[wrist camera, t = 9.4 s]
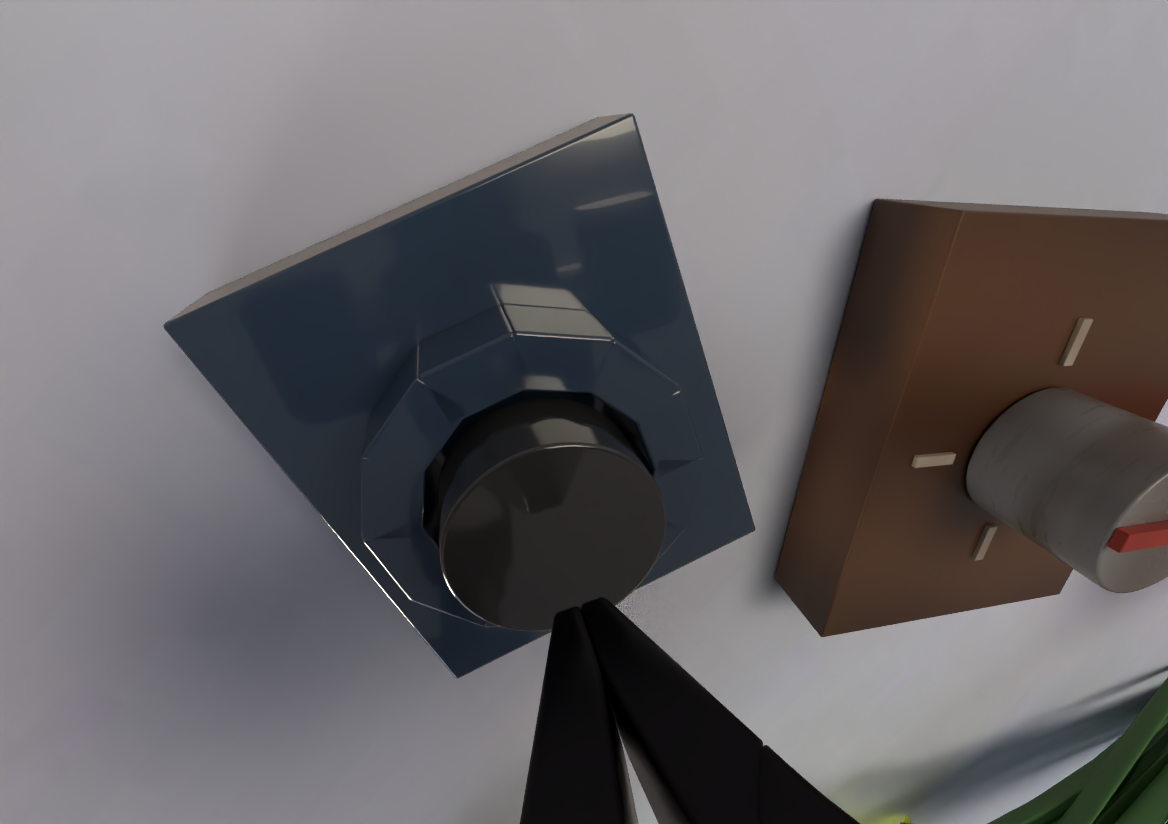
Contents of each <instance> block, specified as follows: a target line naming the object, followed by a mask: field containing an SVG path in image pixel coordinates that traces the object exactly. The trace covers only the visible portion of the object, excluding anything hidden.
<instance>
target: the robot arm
mask: <svg viewBox="0 0 1168 824" xmlns="http://www.w3.org/2000/svg"><path fill="white" fill-rule="evenodd" d="M617 727H618V728H617ZM618 730H619V732H618ZM619 733H620V735H619ZM620 736H621V739H622V742H623V745H624V747H625V749H626V752H627V754H628V757H629V759H630V761H631V763H632V766H633V768H634V770H635V772H636V775H637V777H638V779H639V781H640V783H641V786H642V788H643V790H644V792H645V794H646V797H647V799H648V801H649V803H650V805H651V808H652V810H653V812H654V814H655V817H656V819H657V821H658V823H659V824H860V823H859V822H857V821H856V820H855V819H853V818H852V817H851V816H850V815H848V814H847V813H846V812H845V811H843V810H842V809H841V808H839V807H838V806H837V805H836V804H834V803H833V802H832V801H830V800H829V799H828V798H827V797H825V796H824V795H823V794H822V793H821V792H819V791H818V790H817V789H816V788H815V787H814V786H812V785H811V784H810V783H809V782H808V781H807V780H806V779H804V778H803V777H802V776H801V775H800V774H799V773H797V772H796V771H795V770H794V769H793V768H792V767H790V766H789V765H788V764H787V763H786V762H785V761H784V760H783V759H782V758H781V757H780V756H778V755H777V754H776V753H775V752H774V751H773V750H772V749H771V748H770V747H769V746H767V745H764V746H763V742H762V740H761V739H759V738H758V737H757V736H756V735H755V734H754V733H753V732H752V731H751V730H750V729H749V728H747V727H746V726H745V725H744V724H743V723H742V722H741V721H740V720H739V719H738V718H737V717H735V716H734V715H733V714H732V713H731V712H730V711H729V710H728V709H727V708H726V707H725V706H723V705H722V704H721V703H720V702H719V701H718V700H717V699H716V698H715V697H714V696H713V695H711V694H710V693H709V692H708V691H707V690H706V689H705V688H704V687H703V686H702V685H701V684H699V683H698V682H697V681H696V680H695V679H694V678H693V677H692V676H691V675H690V674H689V673H687V672H686V671H685V670H684V669H683V668H682V667H681V666H680V665H679V664H678V663H677V662H675V661H674V660H673V659H672V658H671V657H670V656H669V655H668V654H667V653H666V652H665V651H663V650H662V649H661V648H660V647H659V646H658V645H657V644H656V643H655V642H654V641H652V640H651V639H650V638H649V637H648V636H647V635H646V634H645V633H644V632H643V631H642V630H640V629H639V628H638V627H637V626H636V625H635V624H634V623H633V622H632V621H631V620H630V619H628V618H627V617H626V616H625V615H624V614H623V613H622V612H621V611H620V610H619V609H618V608H616V607H615V606H614V605H613V604H612V603H611V602H610V601H609V600H608V599H606V598H604V597H600V598H597V599H594V600H591V601H588V602H585V603H583V604H582V605H581V609H580V607H578V606H574V607H571V608H568V609H565V610H563V611H560V612H557V613H556V614H555V617H554V621H553V627H552V633H551V639H550V645H549V651H548V657H547V663H546V669H545V675H544V681H543V687H542V693H541V699H540V705H539V711H538V717H537V723H536V729H535V735H534V741H533V747H532V753H531V759H530V766H529V772H528V778H527V784H526V790H525V796H524V802H523V808H522V814H521V820H520V824H638V819H637V814H636V809H635V804H634V799H633V794H632V789H631V784H630V779H629V774H628V769H627V764H626V759H625V755H624V750H623V746H622V742H621V739H620Z"/></svg>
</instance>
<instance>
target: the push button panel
mask: <svg viewBox="0 0 1168 824" xmlns="http://www.w3.org/2000/svg"><path fill="white" fill-rule="evenodd" d="M164 329H165V330H166V331H167V332H168V334H169V335H170V336H171V337H172V338H173V340H174V341H175V342H176V343H177V344H178V346H179V347H180V348H181V349H182V350H183V352H184V353H185V354H186V355H187V356H188V358H189V359H190V360H191V361H192V362H193V364H194V365H195V366H196V367H197V368H198V370H199V371H200V372H201V373H202V374H203V376H204V377H205V378H206V379H207V380H208V382H209V383H210V384H211V385H212V386H213V388H214V389H215V390H216V391H217V392H218V394H219V395H220V396H221V397H222V398H223V400H224V401H225V402H226V403H227V404H228V406H229V407H230V408H231V409H232V410H233V412H234V413H235V414H236V415H237V416H238V418H239V419H240V420H241V421H242V422H243V424H244V425H245V426H246V427H247V428H248V430H249V431H250V432H251V433H252V434H253V435H254V437H255V438H256V439H257V440H258V441H259V443H260V444H261V445H262V446H263V447H264V449H265V450H266V451H267V452H268V453H269V455H270V456H271V457H272V458H273V459H274V461H275V462H276V463H277V464H278V465H279V467H280V468H281V469H282V470H283V471H284V473H285V474H286V475H287V476H288V477H289V479H290V480H291V481H292V482H293V483H294V485H295V486H296V487H297V488H298V489H299V491H300V492H301V493H302V494H303V495H304V497H305V498H306V499H307V500H308V501H309V503H310V504H311V505H312V506H313V507H314V509H315V510H316V511H317V512H318V513H319V515H320V516H321V517H322V518H323V519H324V521H325V522H326V523H327V524H328V525H329V527H330V528H331V529H332V530H333V531H334V533H335V534H336V535H337V536H338V537H339V539H340V540H341V541H342V542H343V543H344V545H345V546H346V547H347V548H348V549H349V551H350V552H351V553H352V554H353V555H354V557H355V558H356V559H357V560H358V561H359V563H360V564H361V565H362V566H363V567H364V569H365V570H366V571H367V572H368V573H369V575H370V576H371V577H372V578H373V579H374V581H375V582H376V583H377V584H378V585H379V587H380V588H381V589H382V590H383V591H384V593H385V594H386V595H387V596H388V597H389V599H390V600H391V601H392V602H393V603H394V605H395V606H396V607H397V608H398V609H399V611H400V612H401V613H402V614H403V615H404V617H405V618H406V619H407V620H408V621H409V623H410V624H411V625H412V626H413V627H414V629H415V630H416V631H417V632H418V633H419V635H420V636H421V637H422V638H423V639H424V641H425V642H426V643H427V644H428V645H429V647H430V648H431V649H432V650H433V651H434V653H435V654H436V655H437V656H438V657H439V659H440V660H441V661H442V662H443V663H444V665H445V666H446V667H447V668H448V669H449V671H450V672H451V673H452V674H453V675H454V677H455V678H460V677H462V676H464V675H466V674H468V673H470V672H472V671H474V670H476V669H478V668H480V667H482V666H484V665H486V664H488V663H490V662H492V661H494V660H496V659H498V658H500V657H502V656H504V655H506V654H508V653H510V652H512V651H514V650H516V649H518V648H520V647H522V646H524V645H526V644H528V643H530V642H532V641H534V640H536V639H538V638H540V637H542V636H544V635H546V634H548V633H550V632H552V630H547V631H519V630H513V629H507V628H503V627H500V626H496V625H493V624H491V623H489V622H486V621H484V620H482V619H480V618H479V617H477V616H475V615H474V614H472V613H471V612H469V611H468V610H467V609H466V608H465V607H463V606H462V605H461V603H460V602H459V601H458V600H457V599H456V598H455V597H454V595H453V594H452V592H451V591H450V589H449V587H448V586H447V584H446V582H445V579H444V577H443V574H442V570H441V565H440V556H439V531H438V506H437V487H438V479H439V475H440V472H441V468H442V466H443V464H444V461H445V459H446V457H447V455H448V453H449V452H450V450H451V449H452V447H453V446H454V444H455V443H456V442H457V441H458V439H459V438H460V437H461V436H462V435H463V434H464V433H465V432H466V431H467V430H468V429H469V428H470V427H471V426H472V425H473V424H475V423H476V422H477V421H479V420H480V419H482V418H483V417H484V416H486V415H488V414H490V413H492V412H493V411H495V410H497V409H499V408H502V407H504V406H507V405H509V404H512V403H516V402H520V401H523V400H529V399H536V398H559V399H567V400H572V401H576V402H580V403H582V404H585V405H588V406H591V407H592V408H594V409H596V410H598V411H600V412H602V413H603V414H604V415H606V416H607V417H608V418H610V419H611V420H612V421H613V422H614V423H615V424H616V425H617V426H618V427H619V429H620V430H621V431H622V433H623V434H624V436H625V437H626V438H627V440H628V441H629V443H630V444H631V446H632V447H633V449H634V450H635V452H636V453H637V455H638V456H639V458H640V459H641V461H642V462H643V464H644V465H645V466H646V468H647V469H648V471H649V472H650V474H651V475H652V477H653V478H654V480H655V481H656V483H657V485H658V487H659V489H660V491H661V493H662V496H663V500H664V503H665V510H666V531H665V537H664V542H663V545H662V548H661V551H660V553H659V555H658V558H657V560H656V562H655V564H654V565H653V567H652V569H651V570H650V572H649V573H648V575H647V576H646V577H645V578H644V580H643V581H642V582H641V583H640V585H639V586H638V587H637V588H636V589H638V588H640V587H642V586H644V585H646V584H648V583H650V582H652V581H655V580H657V579H659V578H661V577H663V576H665V575H667V574H669V573H671V572H673V571H675V570H677V569H679V568H681V567H683V566H685V565H687V564H689V563H691V562H693V561H695V560H697V559H699V558H701V557H703V556H705V555H707V554H709V553H711V552H713V551H715V550H717V549H719V548H721V547H723V546H725V545H727V544H729V543H731V542H733V541H735V540H737V539H739V538H741V537H743V536H745V535H747V534H749V533H751V532H753V531H754V530H755V526H754V523H753V519H752V516H751V513H750V509H749V506H748V502H747V499H746V495H745V492H744V489H743V485H742V482H741V478H740V475H739V471H738V468H737V465H736V461H735V458H734V454H733V451H732V448H731V444H730V441H729V437H728V434H727V430H726V427H725V424H724V420H723V417H722V413H721V410H720V406H719V403H718V400H717V396H716V393H715V389H714V386H713V382H712V379H711V376H710V372H709V369H708V365H707V362H706V358H705V355H704V352H703V348H702V345H701V341H700V338H699V334H698V331H697V328H696V324H695V321H694V317H693V314H692V311H691V307H690V304H689V300H688V297H687V293H686V290H685V287H684V283H683V280H682V276H681V273H680V269H679V266H678V263H677V259H676V256H675V252H674V249H673V245H672V242H671V239H670V235H669V232H668V228H667V225H666V221H665V218H664V215H663V211H662V208H661V204H660V201H659V197H658V194H657V191H656V187H655V184H654V180H653V177H652V173H651V170H650V167H649V163H648V160H647V156H646V153H645V150H644V146H643V143H642V139H641V136H640V132H639V129H638V126H637V122H636V119H635V116H634V115H633V113H628V114H620V115H612V116H604V117H597V118H595V119H593V120H590V121H588V122H586V123H584V124H582V125H579V126H577V127H575V128H573V129H570V130H568V131H566V132H564V133H562V134H559V135H557V136H555V137H553V138H550V139H548V140H546V141H544V142H542V143H539V144H537V145H535V146H533V147H530V148H528V149H526V150H524V151H522V152H519V153H517V154H515V155H513V156H510V157H508V158H506V159H504V160H502V161H499V162H497V163H495V164H493V165H490V166H488V167H486V168H484V169H482V170H479V171H477V172H475V173H473V174H470V175H468V176H466V177H464V178H462V179H459V180H457V181H455V182H453V183H450V184H448V185H446V186H444V187H442V188H439V189H437V190H435V191H433V192H430V193H428V194H426V195H424V196H422V197H419V198H417V199H415V200H413V201H410V202H408V203H406V204H404V205H402V206H399V207H397V208H395V209H393V210H390V211H388V212H386V213H384V214H382V215H379V216H377V217H375V218H373V219H370V220H368V221H366V222H364V223H362V224H359V225H357V226H355V227H353V228H350V229H348V230H346V231H344V232H342V233H339V234H337V235H335V236H333V237H330V238H328V239H326V240H324V241H322V242H319V243H317V244H315V245H313V246H310V247H308V248H306V249H304V250H302V251H299V252H297V253H295V254H293V255H290V256H288V257H286V258H284V259H282V260H279V261H277V262H275V263H273V264H270V265H268V266H266V267H264V268H262V269H259V270H257V271H255V272H253V273H250V274H248V275H246V276H244V277H242V278H239V279H237V280H235V281H233V282H230V283H228V284H226V285H224V286H222V287H219V288H217V289H215V290H213V291H210V292H208V293H206V294H205V295H204V296H202V297H201V298H199V299H198V300H197V301H195V302H194V303H192V304H191V305H190V306H188V307H187V308H185V309H184V310H183V311H181V312H180V313H178V314H177V315H176V316H174V317H173V318H171V319H170V320H169V321H167V322H166V323H165V324H164ZM636 589H635V590H636Z"/></svg>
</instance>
